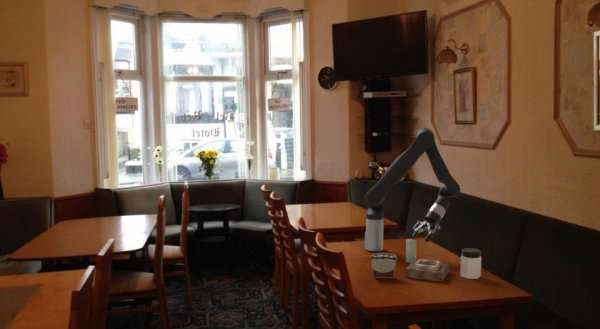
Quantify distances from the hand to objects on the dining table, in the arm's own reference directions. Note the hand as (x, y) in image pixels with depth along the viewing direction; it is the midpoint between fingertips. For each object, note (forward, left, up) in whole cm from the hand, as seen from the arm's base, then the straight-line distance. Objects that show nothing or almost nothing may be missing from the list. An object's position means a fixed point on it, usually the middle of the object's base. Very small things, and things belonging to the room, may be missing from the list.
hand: (419, 239), depth 256 cm
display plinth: (+9, -23, -10) cm, 27 cm away
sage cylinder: (-3, -5, -10) cm, 12 cm away
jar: (+27, -17, -11) cm, 34 cm away
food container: (-9, -33, -11) cm, 36 cm away
